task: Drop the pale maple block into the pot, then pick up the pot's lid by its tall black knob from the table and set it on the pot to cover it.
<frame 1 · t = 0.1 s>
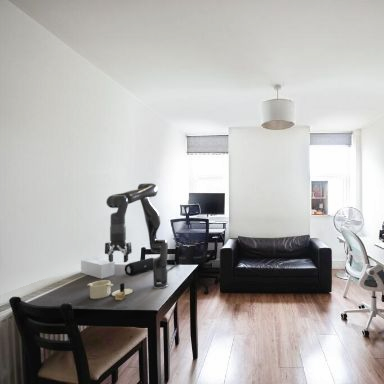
hand: (118, 261, 143), 29 cm above the table, tool pointing down, fingers open, 8 cm apart
portable speaker: (141, 272, 223), on the table
lid: (122, 292, 175), point 1 cm above the table
block: (120, 299, 165), on the table
pot: (100, 295, 172), on the table
white box: (97, 274, 221), on the table
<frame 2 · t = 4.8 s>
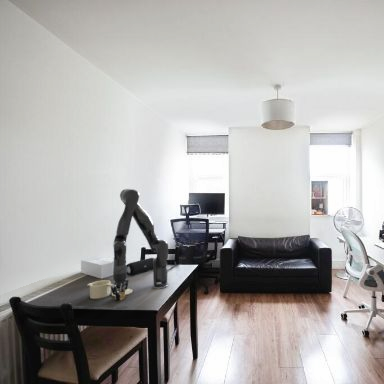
hand: (120, 299, 165), 0 cm above the table, tool pointing down, fingers closed on block, 4 cm apart
block: (120, 299, 165), on the table, touching gripper
everything else where it was.
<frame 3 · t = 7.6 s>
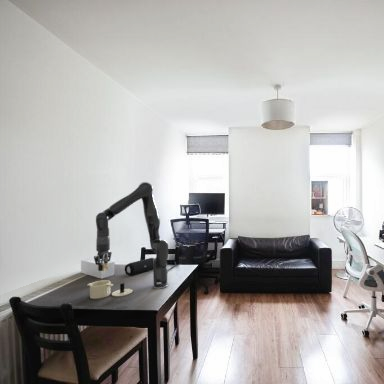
hand: (103, 269, 170), 18 cm above the table, tool pointing down, fingers closed on block, 4 cm apart
block: (103, 270, 170), point 17 cm above the table, touching gripper
everything else where it was.
when the fingers open (8 cm above the table, at t = 10.4 s): block drops 8 cm, resting on pot.
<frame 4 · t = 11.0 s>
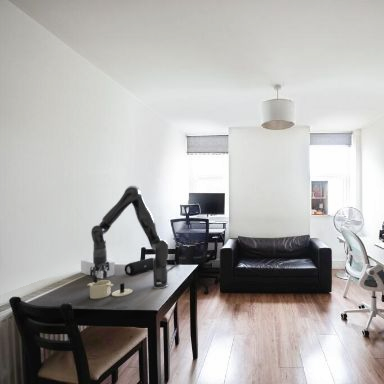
hand: (100, 280, 172), 10 cm above the table, tool pointing down, fingers open, 8 cm apart
block: (100, 295, 172), resting on pot
everything else where it was.
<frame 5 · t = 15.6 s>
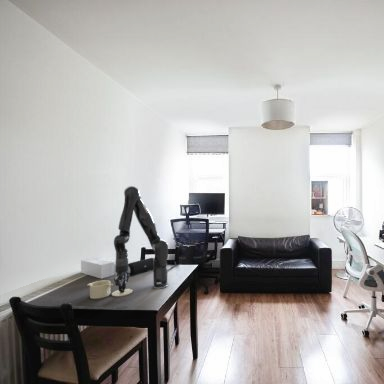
hand: (122, 290, 175), 2 cm above the table, tool pointing down, fingers closed on lid, 2 cm apart
lid: (122, 292, 175), point 1 cm above the table, touching gripper
everything else where it was.
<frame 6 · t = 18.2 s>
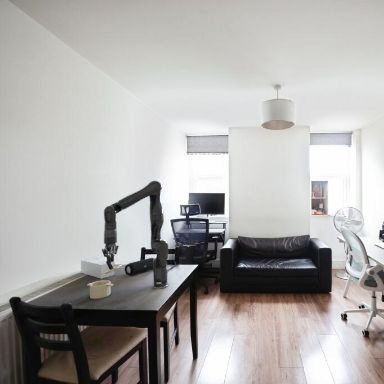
hand: (110, 262, 173), 21 cm above the table, tool pointing down, fingers closed on lid, 2 cm apart
lid: (112, 269, 173), point 17 cm above the table, tilted 24°, touching gripper
everything else where it was.
when the fingers open (12 cm above the table, at t = 21.1 s): lid stays where it is, resting on pot.
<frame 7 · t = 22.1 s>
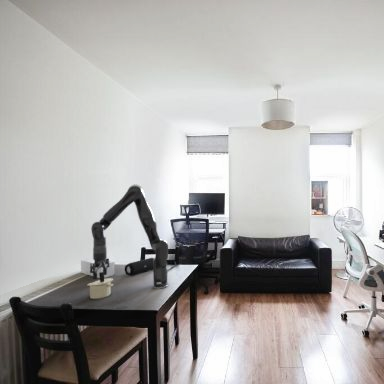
hand: (100, 276, 172), 12 cm above the table, tool pointing down, fingers open, 8 cm apart
lid: (102, 282, 172), point 9 cm above the table, tilted 6°, touching pot
everything else where it was.
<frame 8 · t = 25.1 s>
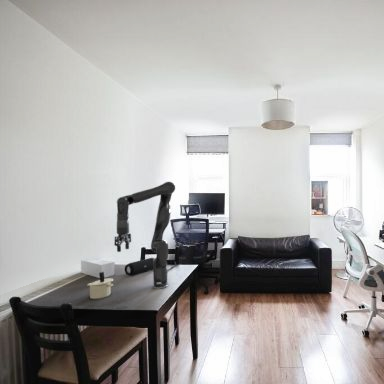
hand: (123, 250, 178), 28 cm above the table, tool pointing down, fingers open, 8 cm apart
nothing on the table moved.
at the end: block inside the target area in the pot (0.1 cm from its centre), point 0.4 cm above the pot's base; lid 1.4 cm off-centre on the pot, point 8.9 cm above the pot's base; lid tilted 5° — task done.
